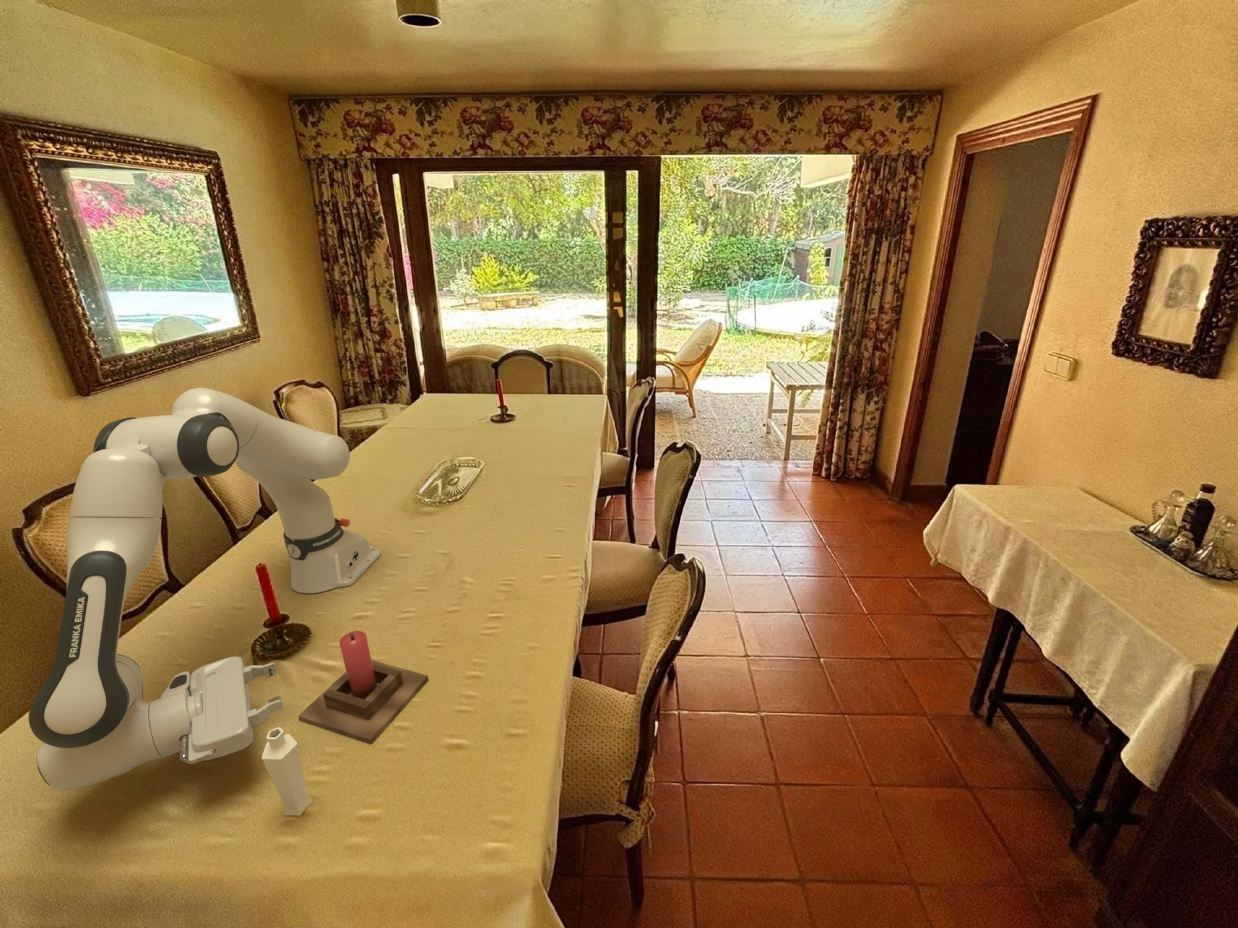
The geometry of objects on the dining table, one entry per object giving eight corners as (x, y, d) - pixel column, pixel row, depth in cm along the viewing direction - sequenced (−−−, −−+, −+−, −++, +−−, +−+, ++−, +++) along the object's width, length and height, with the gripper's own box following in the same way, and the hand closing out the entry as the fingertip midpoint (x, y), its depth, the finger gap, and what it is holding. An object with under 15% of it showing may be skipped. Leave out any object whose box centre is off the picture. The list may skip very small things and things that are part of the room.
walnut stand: (362, 660, 118) (359, 645, 116) (428, 679, 113) (425, 663, 112) (299, 719, 104) (294, 703, 103) (371, 744, 99) (367, 726, 98)
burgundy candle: (358, 686, 110) (344, 626, 105) (381, 685, 110) (368, 626, 105) (349, 703, 106) (334, 643, 101) (373, 703, 106) (359, 642, 101)
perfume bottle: (274, 807, 89) (250, 736, 83) (303, 787, 92) (281, 716, 86) (288, 825, 86) (264, 752, 80) (318, 803, 89) (296, 732, 83)
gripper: (172, 752, 83) (281, 709, 90) (176, 667, 98) (268, 637, 105) (185, 783, 85) (290, 739, 92) (187, 695, 101) (277, 663, 108)
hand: (278, 684), depth 99 cm, fingers open, 8 cm apart
